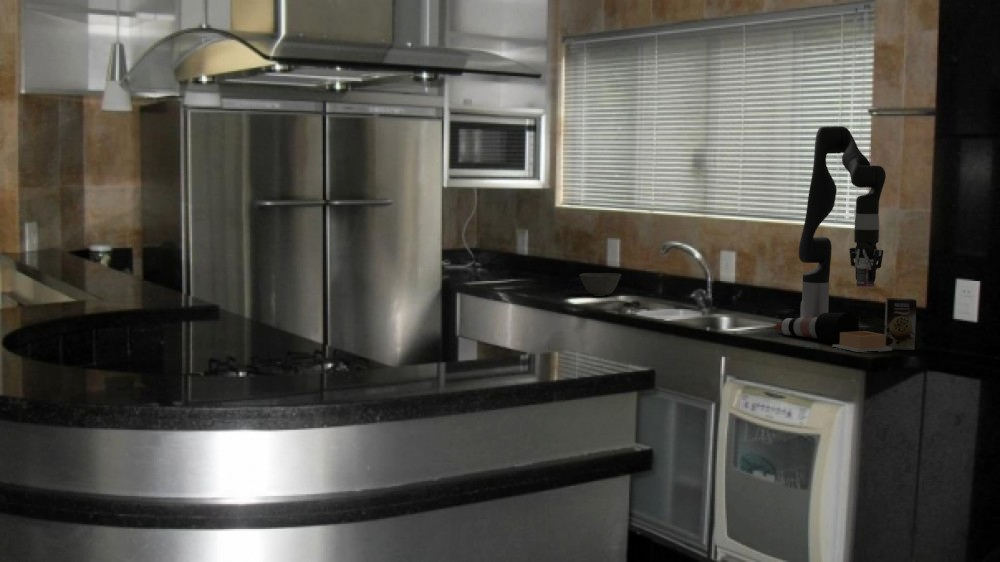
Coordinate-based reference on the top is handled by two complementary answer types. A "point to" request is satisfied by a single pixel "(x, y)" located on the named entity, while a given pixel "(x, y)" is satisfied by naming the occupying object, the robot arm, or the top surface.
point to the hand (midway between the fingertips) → (865, 280)
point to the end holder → (862, 341)
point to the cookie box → (900, 323)
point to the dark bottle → (820, 326)
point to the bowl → (600, 282)
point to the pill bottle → (863, 275)
